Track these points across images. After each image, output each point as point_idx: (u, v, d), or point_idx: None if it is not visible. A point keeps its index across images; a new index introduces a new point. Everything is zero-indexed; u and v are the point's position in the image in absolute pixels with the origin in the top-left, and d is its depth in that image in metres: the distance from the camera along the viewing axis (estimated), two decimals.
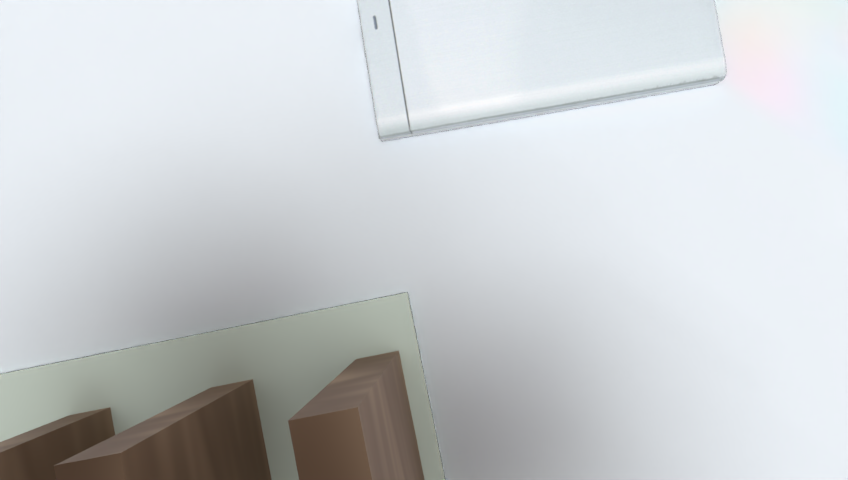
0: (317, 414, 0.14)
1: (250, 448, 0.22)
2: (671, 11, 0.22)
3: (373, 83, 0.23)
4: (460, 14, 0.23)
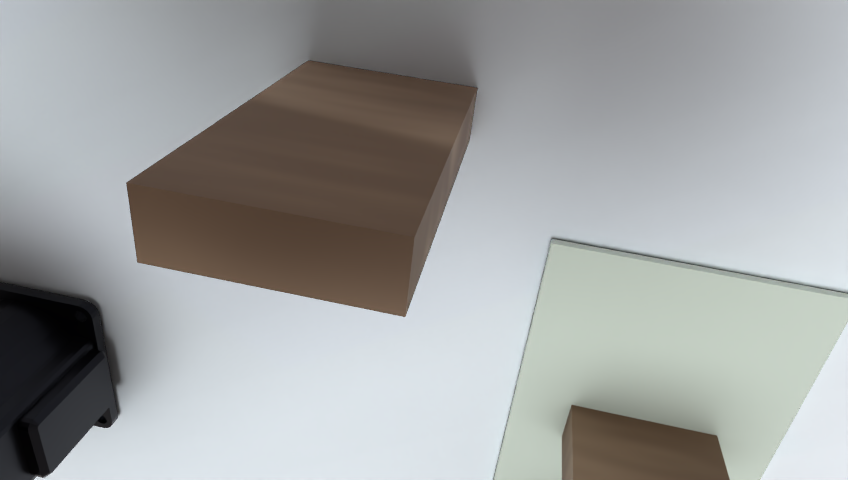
0: None
1: None
2: None
3: None
4: None
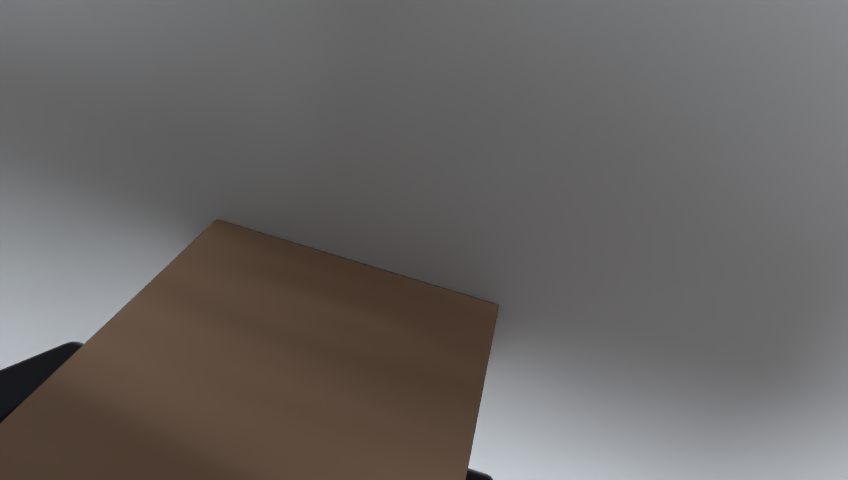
0: None
1: None
2: None
3: None
4: None
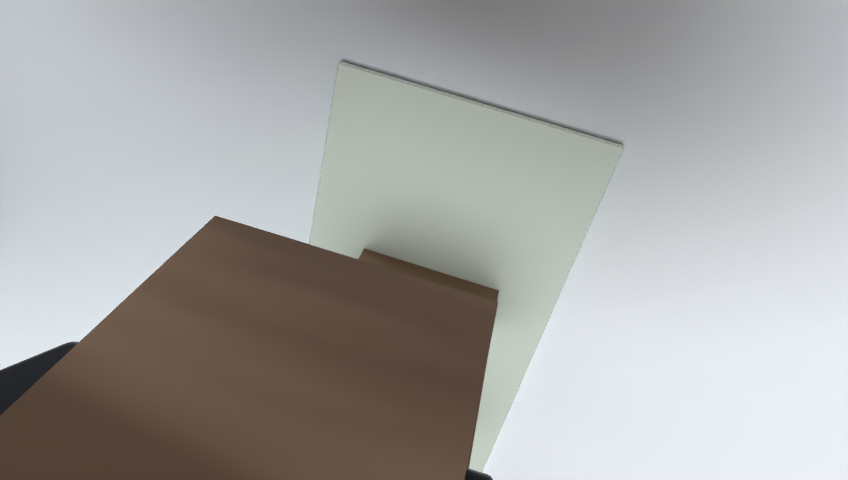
0: None
1: None
2: None
3: None
4: None
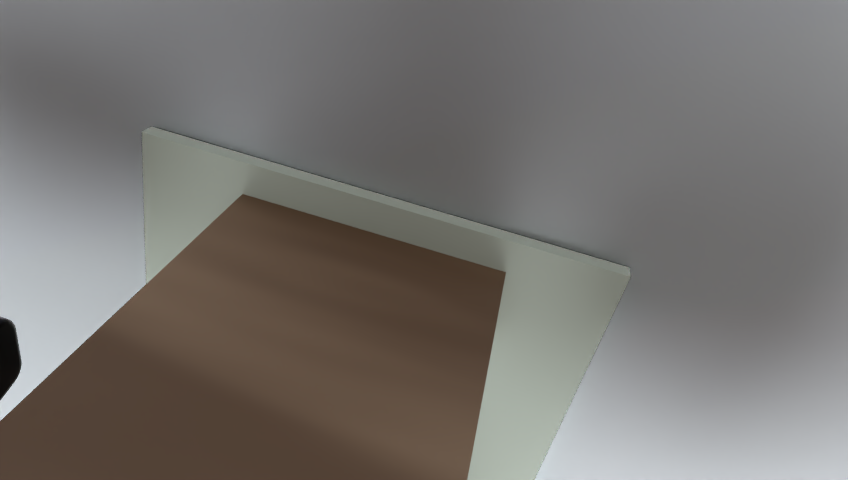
0: None
1: None
2: None
3: None
4: None
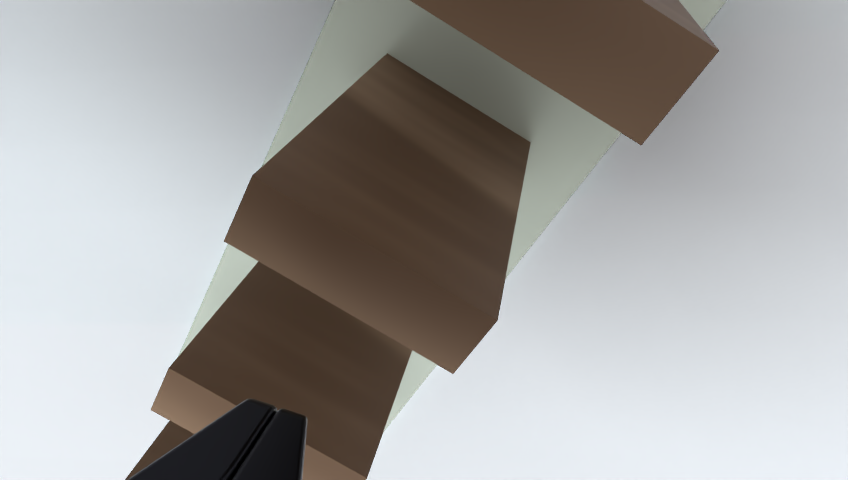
0: None
1: None
2: None
3: None
4: None
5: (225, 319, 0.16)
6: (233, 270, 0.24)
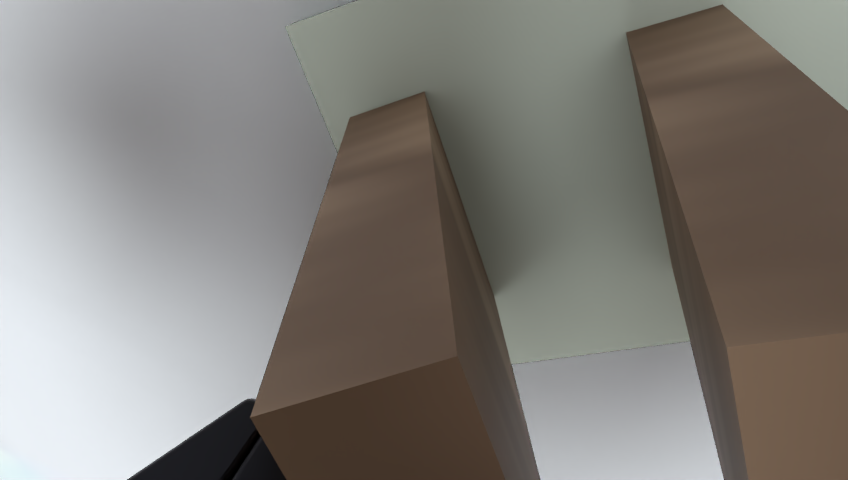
0: None
1: (662, 208, 0.11)
2: None
3: None
4: None
5: None
6: None
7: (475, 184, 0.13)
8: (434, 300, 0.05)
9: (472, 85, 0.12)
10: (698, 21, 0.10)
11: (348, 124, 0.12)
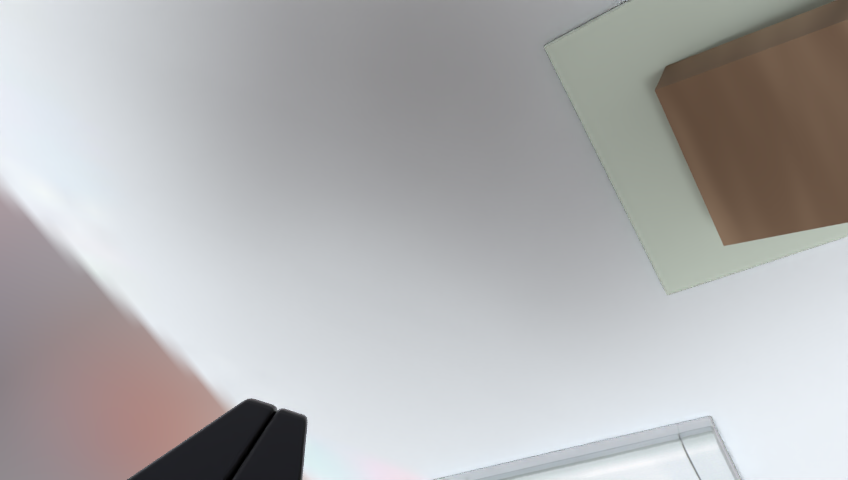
0: None
1: None
2: None
3: (729, 474, 0.23)
4: None
5: None
6: None
7: None
8: None
9: None
10: None
11: (677, 81, 0.16)
